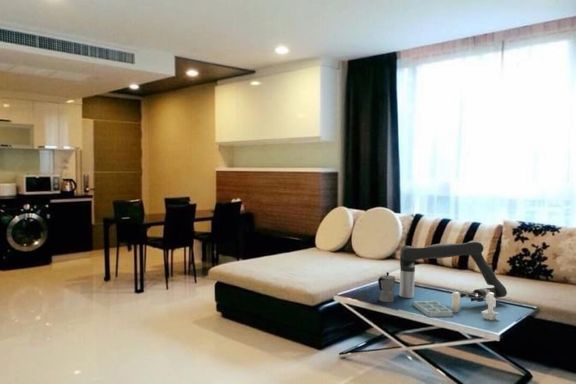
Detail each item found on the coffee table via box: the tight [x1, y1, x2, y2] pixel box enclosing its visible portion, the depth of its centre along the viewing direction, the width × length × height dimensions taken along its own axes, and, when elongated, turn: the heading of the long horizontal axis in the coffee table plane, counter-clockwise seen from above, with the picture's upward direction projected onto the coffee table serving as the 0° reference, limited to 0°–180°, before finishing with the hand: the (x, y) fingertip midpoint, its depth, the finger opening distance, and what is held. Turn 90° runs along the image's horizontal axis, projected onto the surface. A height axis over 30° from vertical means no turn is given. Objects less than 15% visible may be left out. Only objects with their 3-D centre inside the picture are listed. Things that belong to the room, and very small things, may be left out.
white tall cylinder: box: [450, 291, 461, 313], centre depth 273 cm, size 5×5×12 cm
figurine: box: [480, 292, 500, 321], centre depth 260 cm, size 7×9×15 cm
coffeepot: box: [377, 271, 396, 303], centre depth 291 cm, size 15×9×18 cm, turn 129°
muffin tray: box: [412, 300, 454, 318], centre depth 273 cm, size 22×15×3 cm
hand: (465, 297), depth 278 cm, fingers open, 8 cm apart
